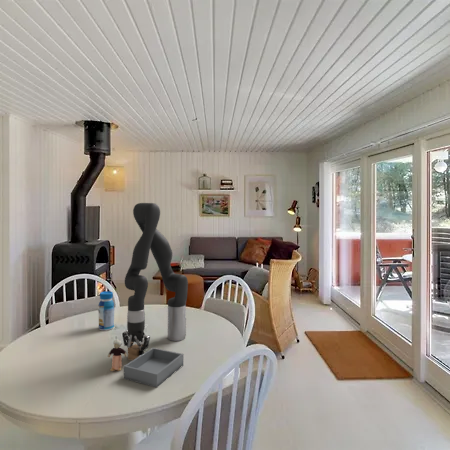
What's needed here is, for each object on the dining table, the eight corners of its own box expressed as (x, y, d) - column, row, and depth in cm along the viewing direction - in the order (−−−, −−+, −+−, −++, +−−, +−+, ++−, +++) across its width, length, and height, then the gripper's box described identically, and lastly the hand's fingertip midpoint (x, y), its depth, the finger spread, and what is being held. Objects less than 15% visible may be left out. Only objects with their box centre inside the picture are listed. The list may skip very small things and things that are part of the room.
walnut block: (135, 354, 154) (135, 344, 154) (144, 356, 152) (144, 345, 152) (127, 359, 149) (127, 348, 149) (136, 361, 148) (137, 350, 147)
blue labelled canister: (111, 331, 182) (111, 294, 182) (95, 330, 183) (95, 294, 182) (116, 325, 191) (116, 290, 190) (101, 325, 191) (101, 290, 190)
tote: (153, 358, 150) (153, 347, 150) (183, 365, 144) (183, 354, 144) (123, 378, 132) (123, 366, 132) (156, 387, 126) (156, 374, 126)
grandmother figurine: (107, 372, 137) (107, 342, 136) (107, 368, 141) (107, 338, 140) (127, 370, 139) (127, 340, 138) (127, 366, 143) (127, 337, 142)
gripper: (154, 319, 151) (154, 356, 151) (128, 314, 156) (128, 350, 157) (144, 324, 144) (143, 363, 144) (117, 319, 149) (117, 357, 150)
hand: (135, 356), depth 151 cm, fingers closed on walnut block, 5 cm apart
